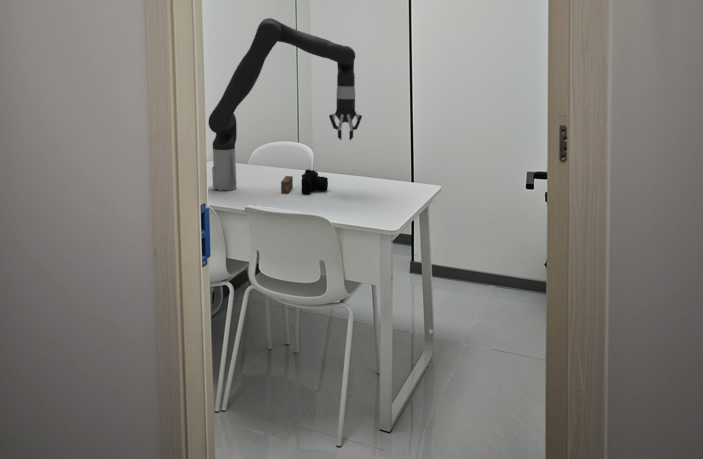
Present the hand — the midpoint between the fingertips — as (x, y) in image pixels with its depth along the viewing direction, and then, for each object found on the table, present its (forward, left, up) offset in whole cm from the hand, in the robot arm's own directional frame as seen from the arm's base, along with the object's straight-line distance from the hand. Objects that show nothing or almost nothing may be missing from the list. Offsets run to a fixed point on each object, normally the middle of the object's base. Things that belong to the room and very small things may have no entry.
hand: (345, 139), depth 302 cm
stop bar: (-25, 0, -22) cm, 33 cm away
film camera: (-13, 0, -23) cm, 26 cm away
